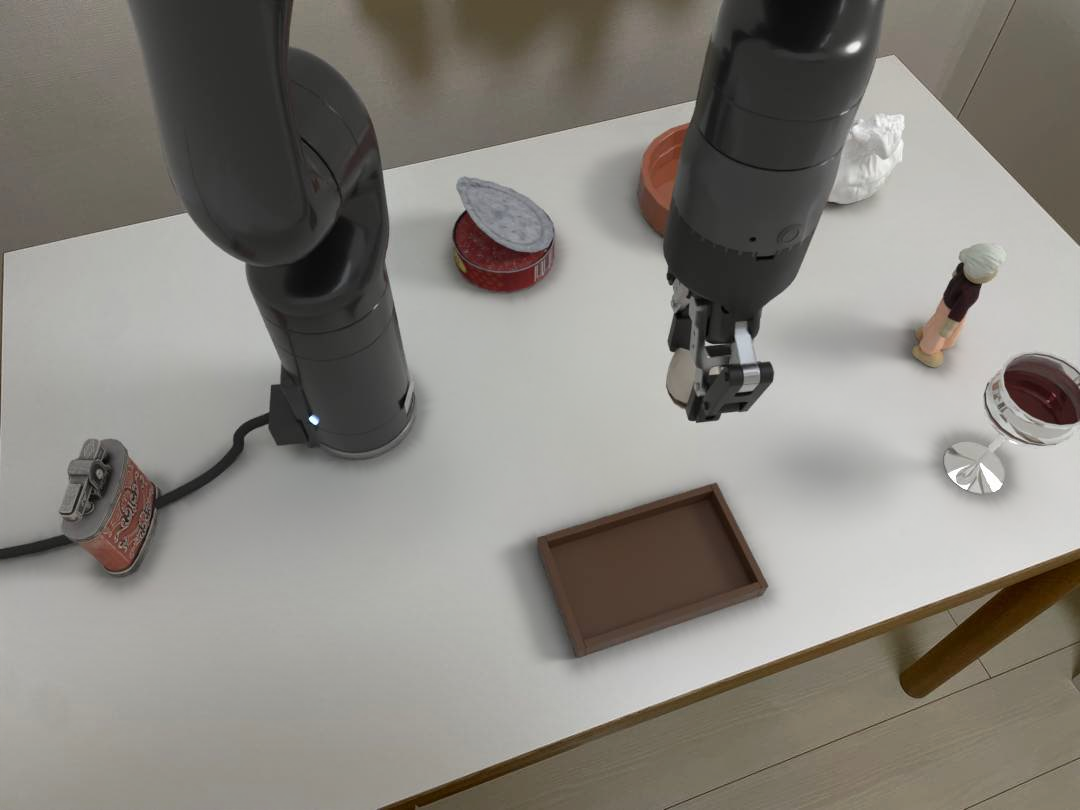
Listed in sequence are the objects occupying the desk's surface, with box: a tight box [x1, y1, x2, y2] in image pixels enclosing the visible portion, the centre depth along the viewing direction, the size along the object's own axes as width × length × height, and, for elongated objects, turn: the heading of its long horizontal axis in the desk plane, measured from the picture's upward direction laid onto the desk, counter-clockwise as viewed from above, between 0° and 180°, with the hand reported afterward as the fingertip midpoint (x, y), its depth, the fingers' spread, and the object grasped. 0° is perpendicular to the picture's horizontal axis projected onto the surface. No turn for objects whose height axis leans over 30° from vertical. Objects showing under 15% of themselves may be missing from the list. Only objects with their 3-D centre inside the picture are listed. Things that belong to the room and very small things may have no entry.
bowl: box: [636, 121, 690, 237], centre depth 86 cm, size 15×15×4 cm
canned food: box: [451, 176, 556, 294], centre depth 81 cm, size 11×10×10 cm
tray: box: [536, 482, 769, 659], centre depth 65 cm, size 15×9×2 cm, turn 109°
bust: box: [827, 112, 906, 205], centre depth 84 cm, size 12×8×11 cm
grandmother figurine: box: [911, 242, 1008, 368], centre depth 73 cm, size 8×4×13 cm, turn 168°
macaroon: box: [665, 348, 719, 411], centre depth 57 cm, size 4×5×2 cm
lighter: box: [57, 437, 162, 579], centre depth 63 cm, size 8×3×10 cm, turn 178°
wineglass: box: [943, 350, 1080, 495], centre depth 66 cm, size 7×7×12 cm
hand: (692, 380), depth 57 cm, fingers closed on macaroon, 5 cm apart
